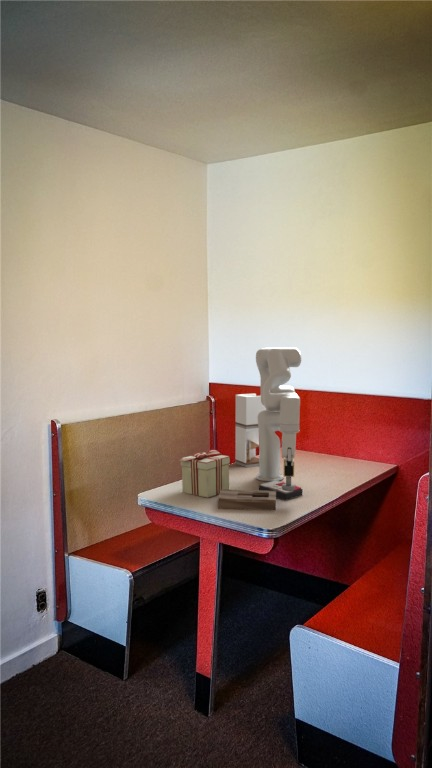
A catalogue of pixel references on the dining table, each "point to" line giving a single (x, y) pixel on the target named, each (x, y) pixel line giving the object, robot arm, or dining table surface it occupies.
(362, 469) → the dining table surface
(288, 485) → the peg
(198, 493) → the gift box
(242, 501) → the keyhole board
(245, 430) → the white slotted tower
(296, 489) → the calculator
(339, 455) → the dining table surface
